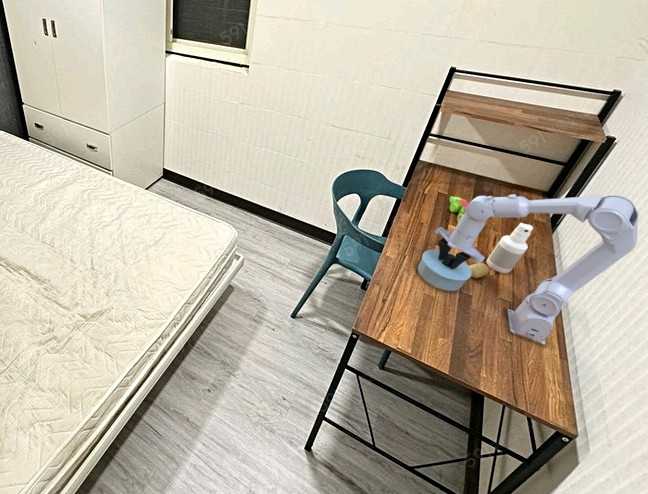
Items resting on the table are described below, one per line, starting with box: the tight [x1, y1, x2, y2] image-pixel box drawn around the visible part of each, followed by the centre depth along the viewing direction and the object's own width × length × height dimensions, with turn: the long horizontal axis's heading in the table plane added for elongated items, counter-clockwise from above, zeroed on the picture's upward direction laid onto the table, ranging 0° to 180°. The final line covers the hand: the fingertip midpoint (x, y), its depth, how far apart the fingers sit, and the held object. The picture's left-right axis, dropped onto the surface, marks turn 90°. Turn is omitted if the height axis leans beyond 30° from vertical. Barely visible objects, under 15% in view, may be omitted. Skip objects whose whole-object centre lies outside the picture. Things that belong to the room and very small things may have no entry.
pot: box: [417, 259, 467, 292], centre depth 133 cm, size 13×13×6 cm
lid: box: [421, 248, 472, 282], centre depth 130 cm, size 14×14×4 cm
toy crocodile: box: [449, 196, 487, 229], centre depth 159 cm, size 20×7×6 cm, turn 168°
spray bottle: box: [486, 222, 534, 274], centre depth 134 cm, size 7×7×18 cm
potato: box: [468, 262, 489, 279], centre depth 134 cm, size 7×4×4 cm, turn 110°
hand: (447, 263), depth 131 cm, fingers open, 4 cm apart
